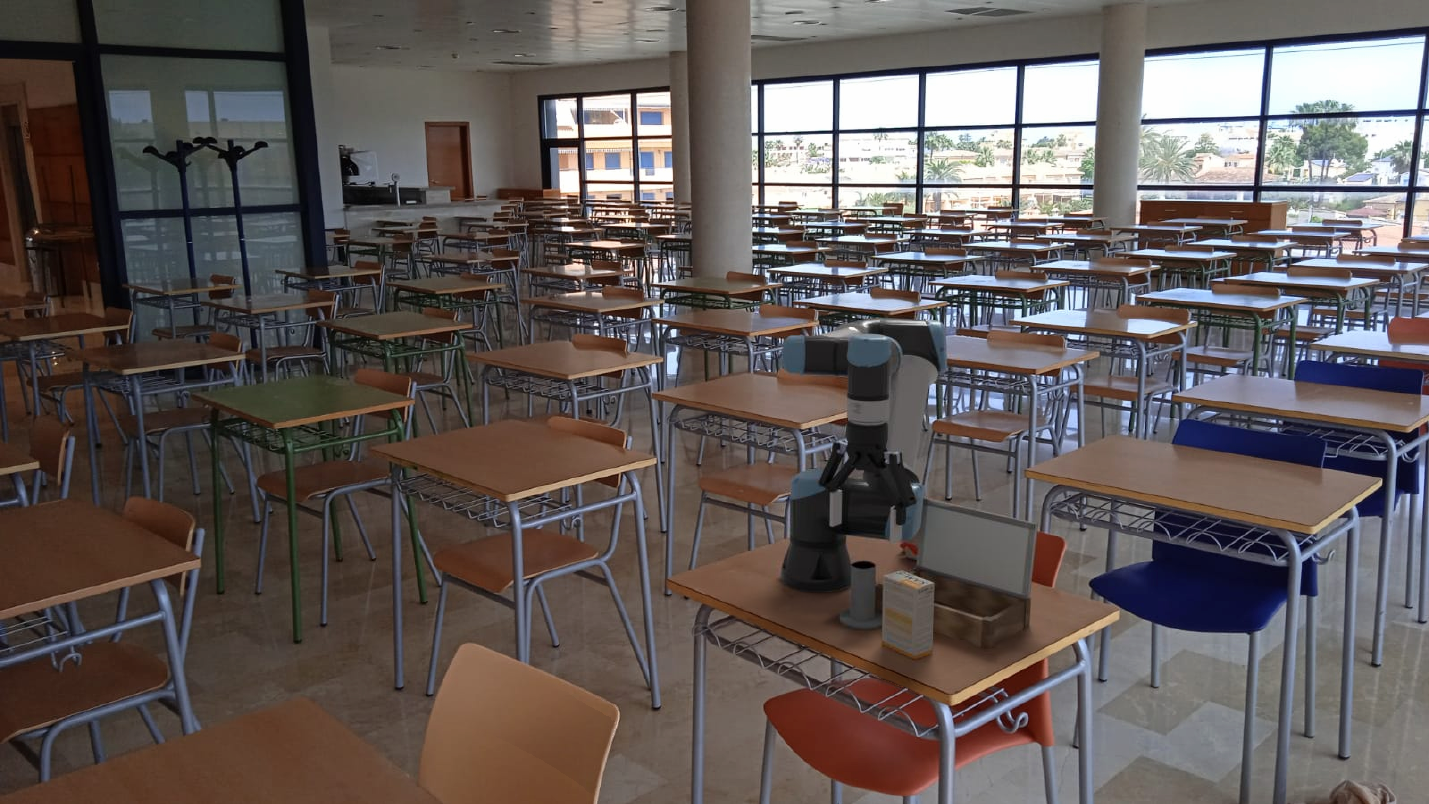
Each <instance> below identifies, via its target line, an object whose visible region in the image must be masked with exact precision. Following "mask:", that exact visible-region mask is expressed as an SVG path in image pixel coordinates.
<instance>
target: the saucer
mask: <svg viewBox="0 0 1429 804" xmlns="http://www.w3.org/2000/svg"><path fill="white" fill-rule="evenodd" d="M882 617H883V614H882V613H880V612H878V611H876V610H875V616H874V619H872V620H870V621H857V620H854V619H852V618H851V616H850V608H848V609H846V610H844V611H841V613H840V614H839V622H840V623H841V625H843V626H845V627H846V628H850V629H853V630H859V631H870V630H877V629H880V628H882Z"/></svg>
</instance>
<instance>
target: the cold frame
mask: <svg viewBox="0 0 1429 804" xmlns="http://www.w3.org/2000/svg"><path fill="white" fill-rule="evenodd" d="M909 573H910V574H912V575H915V576H917V577H920V578H923V579H925V580H928V581H930V582H933V583H934V601H936V602H940V603H942V604H945V605H949V606H952V607H955V608H959V609H962V610H966V611H970V612H972V613H976V614H979V615H982V616H985V617H981V616H978V615H975V614H972V613H969V612H965V611H962V610H958V609H954V608H951V607H948V606H944V605H941V604H939V603H935V602H934V613H933V633H936V634H937V633H938V634H940V635H944V636H946V637H949V638H952V639H956V640H959V641H963V642H965V643H968V644H970V645H974V646H977V647H980V648H981V649H984V650H987V651H991V650H993V649H994V647H995V646H997V645H999V644H1000V643H1001V642H1003V641H1004V640H1007V638H1010V637H1011V636H1013V635H1014V634H1016V633H1017V632H1020V631H1021V630H1023V629H1026V628H1028V627H1030V622H1031V621H1030V620H1031V604H1032V598H1031V597H1030V598H1028V599H1027V600H1026V599H1022V598H1016V597H1012V596H1009V595H1005V594H1002V593H998V592H995V591H991V590H987V589H984V588H980V587H977V586H973V585H970V584H966V583H963V582H959V581H956V580H952V579H949V578H945V577H942V576H938V575H935V574H931V573H928V572H924V571H921V570H920V569H916V568H915V567H912V571H910V572H909ZM875 610H876V611H878V612H880V613H882V614H883V583H877V584H875Z"/></svg>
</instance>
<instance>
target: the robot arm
mask: <svg viewBox="0 0 1429 804" xmlns="http://www.w3.org/2000/svg"><path fill="white" fill-rule="evenodd" d="M781 354H782V355H781V360H782V367H783V369H784V371H785V372H786V374H787V373H788V374H792V375H799V376H820V377H821V376H823V377H838V378H839V377H840V378H841V377H842V378H846V381H847V382H846V383H847V387H846V391H847V392H846V396H847V397H846V418H847V419H848V420H847V422H845V423H846V424H845V425H846V429H845V431H846V432H845V433H846V434H845V439H846V440H844V439H840V440H838V441H834V442H833V443H832V447H831V454H830V456H829V458H828V460H827V462H826V465H825V466H824V467H817V468H811V469H810V468H809V469H807V470H804V471H800V472H798V473H797V474H795V475H794V476H793V477H792V479H791V481H790V493H789V496H788V497H789V498H788V499H789V543H788V547H787V550H786V553H785V556H784V558H783V562H782V564H781V569H780V580H781V581H782V583H783V584H784V585H786V586H787V587H790V588H792V589H796V590H798V591H804V592H811V593H831V592H838V591H841V590H844V589H847V588H850V587H851V564H852V561H851V556H850V552H849V550H848V549H849V548H848V545H847V536H850V537H858V538H869V539H877V540H883V541H884V540H886V541H888V542H889V543H891V544H895V543H897V542H899V541H900V542H901V541H908V540H910V539H912V538H913V537H914V536H915V535H916V533H917V532H918V529H919V527H920V524H921V515H922V506H923V498H927V497H926V496H927V495H926V494H927V493H926V487H925V486H924V485H923V484H922V483H921V479H920V477H919V475H918V474H917V473H916V472H915V468H916V462H917V457H918V451H919V445H920V439H921V434H922V427H923V421H924V415H925V411H926V410H925V409H926V404H927V398H928V393H929V387H931V386H932V385H934V384H935V382H936V381H937V380H938V376H939V375H940V374H941V375H942V374H945V373H946V372H947V370H948V352H947V336H946V328H945V325H944V323H943V322H942V321H941V320H940V321H939V320H934V319H927V318H923V319H913V318H912V319H907V318H905V319H904V318H889V317H888V318H886V317H871V318H863V319H860V320H855V321H850V322H846V323H843V324H841V325H838V326H837V327H836V328H835V329H834V330H833V331H829V332H824V333H820V334H816V335H815V334H814V335H803V334H800V335H789V336H787V337H786V339H785V340H784V343H783V345H782V353H781ZM846 441H847V442H846ZM845 453H846V454H847V456H848V459H847V460H846V461H845V462H844V464H843V465H842V467H839V466H840V464H841V462H842V459H843V458H844V455H845ZM855 470H856V471H863V473H862V478H856V477H855V478H854V477H849V476H850V475H851V474H852V473H853V472H854V471H855Z"/></svg>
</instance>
